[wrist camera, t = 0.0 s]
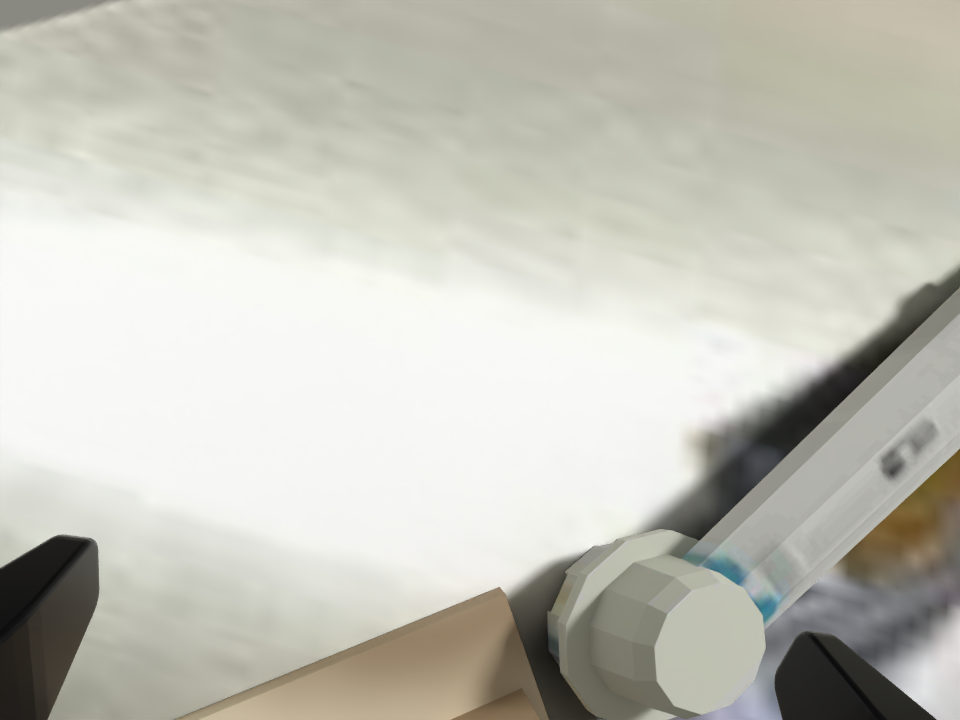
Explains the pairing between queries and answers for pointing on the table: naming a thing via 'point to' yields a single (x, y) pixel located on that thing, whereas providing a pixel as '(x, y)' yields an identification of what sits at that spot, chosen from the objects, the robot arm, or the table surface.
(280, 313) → the table surface
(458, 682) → the pipe stand
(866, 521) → the grey piece
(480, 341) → the table surface
